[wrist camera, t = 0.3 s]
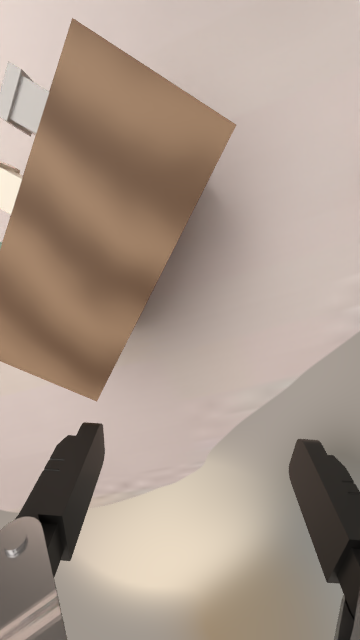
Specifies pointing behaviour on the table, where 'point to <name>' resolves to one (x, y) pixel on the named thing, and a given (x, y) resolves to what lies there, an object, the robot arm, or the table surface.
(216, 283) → the table surface
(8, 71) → the grey key
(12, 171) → the ivory key
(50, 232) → the console
